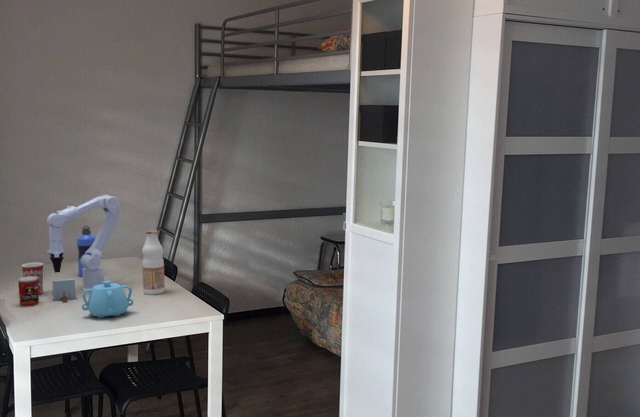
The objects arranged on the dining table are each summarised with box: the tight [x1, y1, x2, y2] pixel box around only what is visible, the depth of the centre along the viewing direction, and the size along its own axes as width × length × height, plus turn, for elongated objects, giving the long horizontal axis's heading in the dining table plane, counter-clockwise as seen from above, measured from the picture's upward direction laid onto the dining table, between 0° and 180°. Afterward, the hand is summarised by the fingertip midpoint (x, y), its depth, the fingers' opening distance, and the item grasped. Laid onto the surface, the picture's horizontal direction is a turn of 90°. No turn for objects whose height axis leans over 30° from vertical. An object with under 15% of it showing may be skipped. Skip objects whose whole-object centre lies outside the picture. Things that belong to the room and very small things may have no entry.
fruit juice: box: [141, 229, 166, 296], centre depth 323 cm, size 9×9×28 cm
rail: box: [61, 292, 68, 303], centre depth 313 cm, size 2×12×3 cm, turn 20°
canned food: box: [17, 276, 40, 307], centre depth 306 cm, size 8×8×11 cm
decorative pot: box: [81, 280, 134, 319], centre depth 288 cm, size 16×16×14 cm
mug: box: [21, 262, 44, 296], centre depth 323 cm, size 13×9×14 cm
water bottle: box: [76, 225, 97, 278], centre depth 358 cm, size 9×9×25 cm
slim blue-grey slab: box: [52, 278, 77, 302], centre depth 313 cm, size 9×2×8 cm, turn 110°
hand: (57, 270), depth 323 cm, fingers open, 7 cm apart
